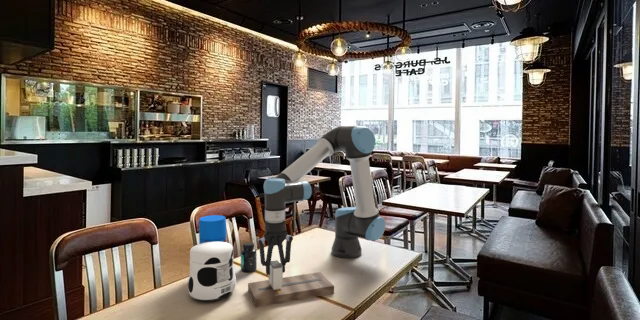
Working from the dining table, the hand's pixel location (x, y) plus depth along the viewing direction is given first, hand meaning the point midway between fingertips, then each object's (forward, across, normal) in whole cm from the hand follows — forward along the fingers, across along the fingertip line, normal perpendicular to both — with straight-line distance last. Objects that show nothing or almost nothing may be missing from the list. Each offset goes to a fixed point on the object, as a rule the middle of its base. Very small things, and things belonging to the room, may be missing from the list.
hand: (275, 281), depth 133 cm
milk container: (+5, -22, +9) cm, 24 cm away
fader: (+2, 0, 0) cm, 2 cm away
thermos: (+5, -20, +26) cm, 33 cm away
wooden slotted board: (+5, +6, 0) cm, 8 cm away
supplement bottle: (+5, -5, +27) cm, 28 cm away
